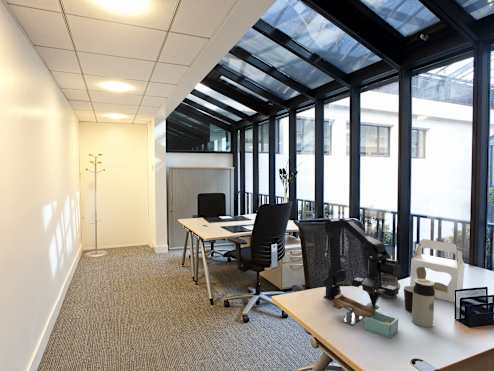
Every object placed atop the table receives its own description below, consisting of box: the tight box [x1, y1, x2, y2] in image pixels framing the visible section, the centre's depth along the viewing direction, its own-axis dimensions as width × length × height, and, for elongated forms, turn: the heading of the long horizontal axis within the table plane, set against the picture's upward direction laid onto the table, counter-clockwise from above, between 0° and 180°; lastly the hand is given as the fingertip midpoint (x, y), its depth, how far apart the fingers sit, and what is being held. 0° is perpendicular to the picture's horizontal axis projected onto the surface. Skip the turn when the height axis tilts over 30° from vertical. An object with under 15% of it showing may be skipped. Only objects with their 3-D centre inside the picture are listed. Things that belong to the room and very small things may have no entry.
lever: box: [332, 293, 380, 319], centre depth 142 cm, size 16×14×5 cm
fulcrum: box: [341, 301, 364, 327], centre depth 139 cm, size 5×11×6 cm, turn 136°
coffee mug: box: [403, 285, 414, 314], centre depth 150 cm, size 12×9×10 cm
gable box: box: [409, 238, 465, 303], centre depth 171 cm, size 22×13×28 cm, turn 45°
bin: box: [364, 310, 399, 339], centre depth 130 cm, size 10×9×5 cm
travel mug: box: [411, 279, 436, 328], centre depth 137 cm, size 8×8×18 cm
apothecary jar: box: [379, 274, 401, 300], centre depth 167 cm, size 12×12×18 cm
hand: (373, 305), depth 143 cm, fingers closed
